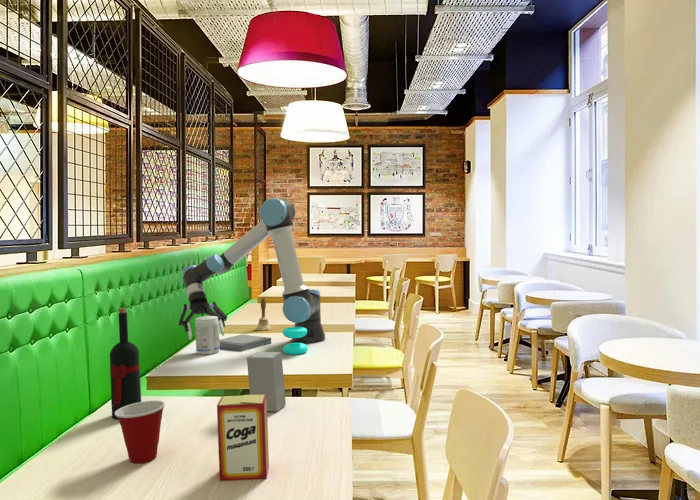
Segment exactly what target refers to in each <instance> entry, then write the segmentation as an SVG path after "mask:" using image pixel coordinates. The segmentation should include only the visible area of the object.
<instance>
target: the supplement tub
mask: <svg viewBox="0 0 700 500" xmlns="http://www.w3.org/2000/svg"><path fill="white" fill-rule="evenodd" d="M194 331H195V346H196V348H195V350H196V353H197V354H198V355H205V356H206V355H214V354H217V353H219V352H220V349H221V348H220V343H219V340H220V327H219V321H218V317H217V316H210V315H205V316H198V317H195V318H194Z"/></svg>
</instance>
